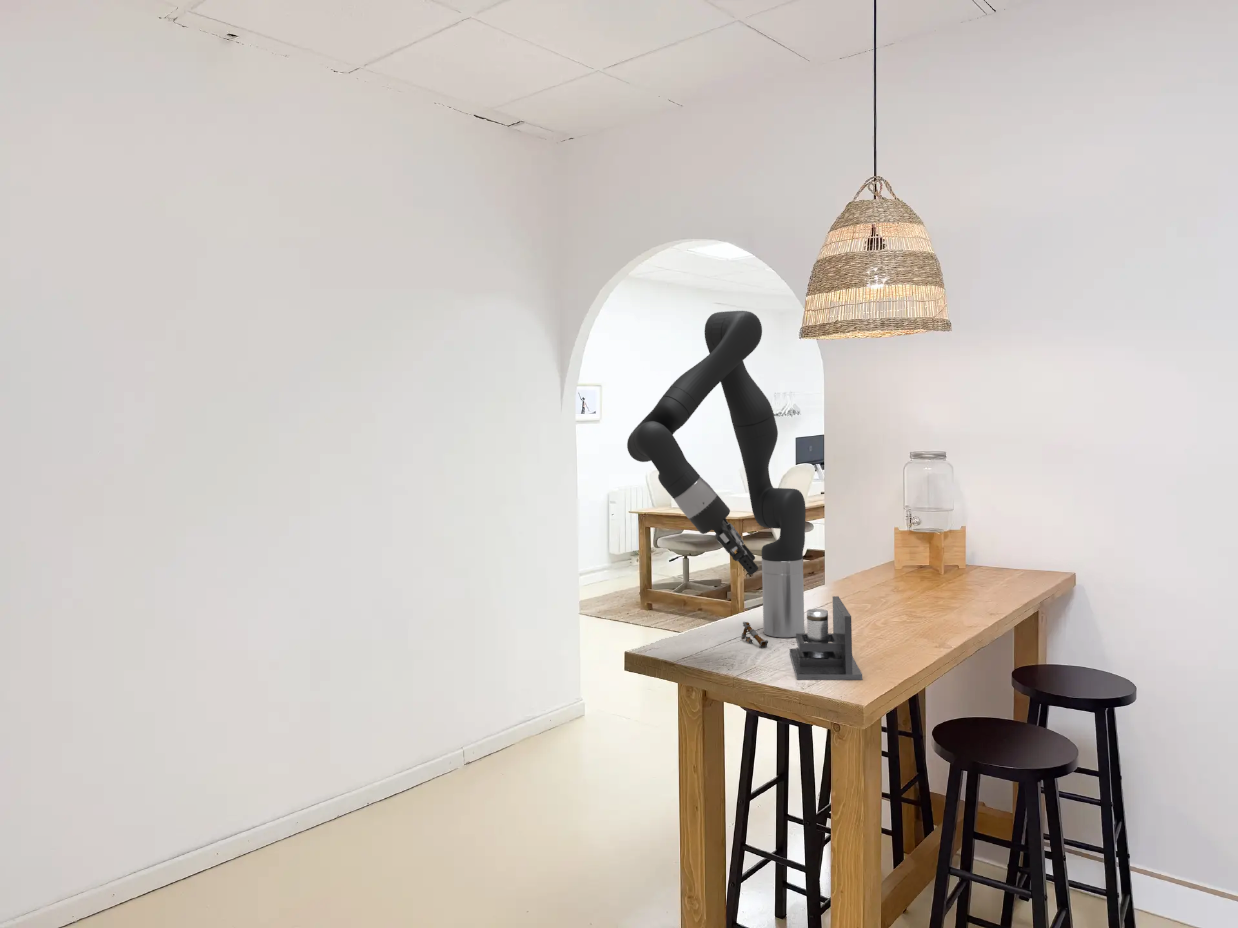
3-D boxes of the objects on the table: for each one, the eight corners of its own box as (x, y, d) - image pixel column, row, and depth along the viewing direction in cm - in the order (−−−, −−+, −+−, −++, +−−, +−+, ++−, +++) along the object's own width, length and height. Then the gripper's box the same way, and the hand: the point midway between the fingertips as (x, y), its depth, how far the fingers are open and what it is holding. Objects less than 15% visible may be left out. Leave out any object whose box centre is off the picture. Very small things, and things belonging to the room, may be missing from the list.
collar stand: (789, 653, 179) (788, 596, 179) (848, 653, 178) (847, 596, 177) (797, 679, 161) (795, 616, 161) (862, 679, 160) (861, 616, 159)
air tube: (806, 658, 172) (805, 608, 171) (827, 658, 171) (826, 608, 171) (808, 663, 168) (807, 613, 167) (830, 663, 167) (829, 613, 167)
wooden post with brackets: (743, 635, 192) (747, 618, 190) (763, 656, 186) (768, 639, 184) (736, 636, 191) (741, 619, 190) (757, 658, 185) (762, 641, 183)
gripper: (717, 499, 163) (771, 563, 164) (715, 487, 177) (764, 546, 178) (686, 523, 164) (740, 587, 165) (687, 510, 179) (736, 568, 179)
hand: (753, 566), depth 172 cm, fingers open, 8 cm apart
